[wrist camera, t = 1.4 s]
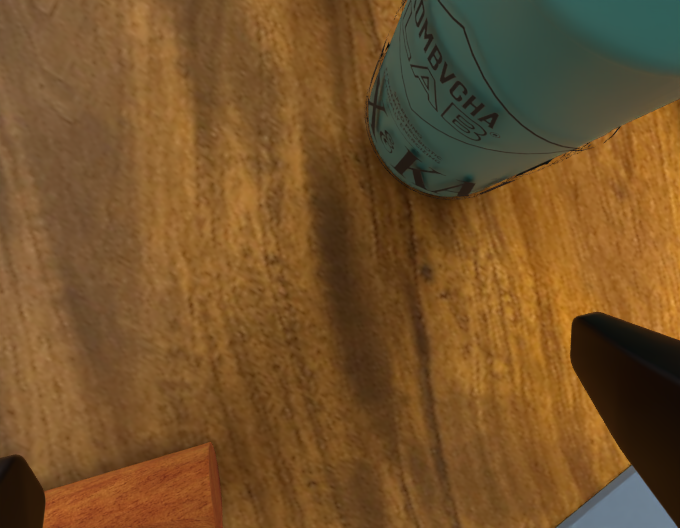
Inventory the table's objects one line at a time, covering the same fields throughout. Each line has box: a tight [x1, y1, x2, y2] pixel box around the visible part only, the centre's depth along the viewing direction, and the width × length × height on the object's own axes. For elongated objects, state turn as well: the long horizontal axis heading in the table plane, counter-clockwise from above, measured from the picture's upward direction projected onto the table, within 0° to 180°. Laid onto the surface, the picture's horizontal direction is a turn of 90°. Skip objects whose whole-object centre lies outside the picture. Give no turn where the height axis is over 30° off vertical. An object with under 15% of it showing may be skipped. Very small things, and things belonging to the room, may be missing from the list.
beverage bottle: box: [365, 0, 680, 200], centre depth 13 cm, size 6×7×20 cm
